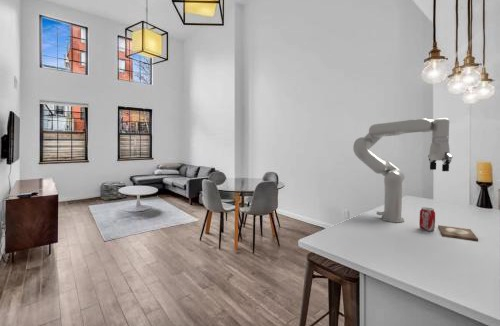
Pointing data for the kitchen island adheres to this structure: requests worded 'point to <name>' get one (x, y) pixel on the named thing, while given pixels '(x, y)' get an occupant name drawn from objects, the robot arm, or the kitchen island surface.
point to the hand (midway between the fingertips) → (439, 170)
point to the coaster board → (457, 233)
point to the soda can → (427, 219)
